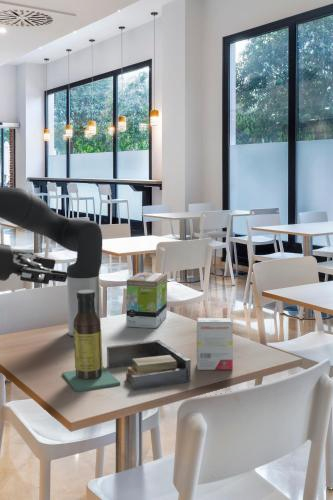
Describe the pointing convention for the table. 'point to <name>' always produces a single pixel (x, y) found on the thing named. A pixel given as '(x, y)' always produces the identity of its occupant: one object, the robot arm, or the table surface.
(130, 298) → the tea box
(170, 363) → the offcut stack
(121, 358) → the grey three-sided tray
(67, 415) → the table surface
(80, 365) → the sauce bottle
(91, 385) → the green rubber mat
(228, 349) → the ink box
